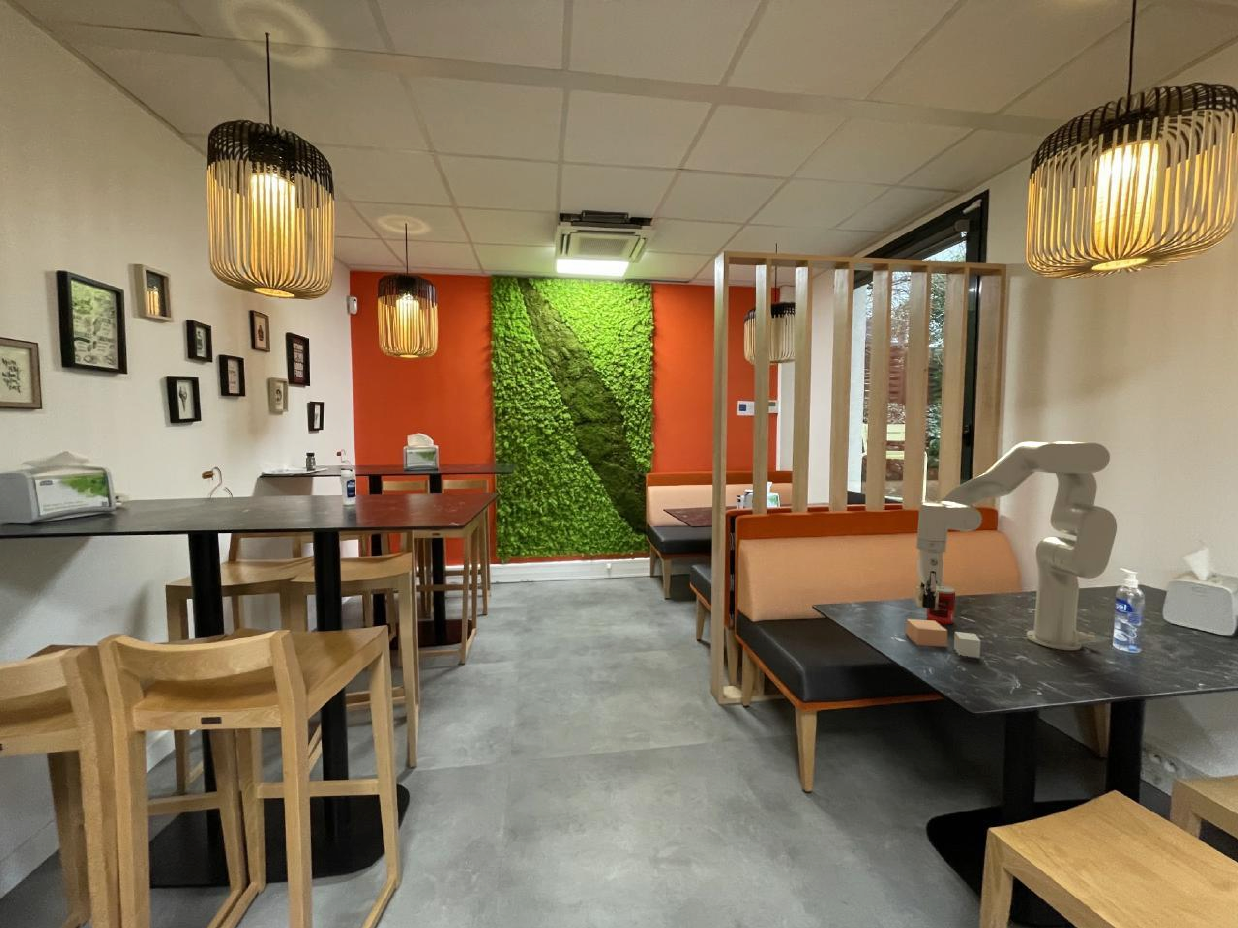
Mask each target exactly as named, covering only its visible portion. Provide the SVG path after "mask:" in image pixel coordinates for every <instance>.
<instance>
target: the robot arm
mask: <svg viewBox="0 0 1238 928" xmlns="http://www.w3.org/2000/svg"><path fill="white" fill-rule="evenodd" d="M1110 460H1111V455H1110V451H1109V450H1108V448H1107V447H1106V446H1104V445H1102V444H1101V443H1098V442H1092V441H1090V442H1089V441H1074V440H1073V441H1072V440H1069V441H1068V440H1060V441H1053V442H1049V441H1048V442H1043V441H1023V442H1019V443H1018V444H1016V445H1014V446H1013V447H1012V448H1011V449H1010V450H1008V452H1007V453H1005V454H1004V455H1003V456H1002V457H1001V458H1000V459H999V460H997V462H995V463H994V464H993V465H992V466H990V468H988V469H987V470H986V471H984V472H983V473H982V474H980V475H978V476H976V477H973V478H971V479H970V480H969V479H968V480H967V481H966V482H964V483H961V484H959V485H958V486H956V487H954V488H953V489H951V490H950V491H949V492H948V493H947V494H945V496H943V497H942V499H940V500H939V501H938V502H937V503H935V502H924V503H921V504H920V505H919V509H918V520H917V521H918V522H917V531H916V545H915V548H916V550H919V552H918V561H917V578H918V579H919V586H920V587H925V590H924V594H923V602H922V607H923V608H922V609H927V608H928V609H935V602H936V584H937V585H938V586H940V587H941V586H942V585H944V584H943V580H944V553H947V552H946V550H947V538H948V530H955V531H961V532H970V531H974V530H976V529H978V528H979V527H980V526H981V524H982V522H983V517H982V516H983V515H982V514H981V512H980V511H979V510H978V509H977V508H975V507H973V505H974V504H977V503H979V502H982V501H985V500H990V499H996V498H999V497H1000V498H1001V497H1003V496H1004V497H1005V496H1007V495H1009V494H1011V493H1013V492H1014V490H1016V489H1017V488H1019V486H1020V485H1022V484H1023V483H1024V482H1025V481H1026V480H1027V479H1028V478H1029V477H1031V476H1032V475H1034V473H1036V472H1039V473H1046V474H1055V475H1056V477H1057V480H1058V481H1057V482H1058V486H1057V492H1056V496H1055V499H1054V504H1053V507H1052V510H1051V515H1050V524H1051V526H1052V528H1053V529H1054V530H1056V531H1057V532H1059V533H1062V534H1065V535H1069V536H1075V537H1076V538H1075V540H1073V539H1070V538H1066V537H1062V536H1048V537H1045V538H1043V539H1040V541H1039V542H1038V543H1037V545H1036V547H1035V561H1036V566H1037V581H1036V583H1037V584H1036V594H1035V608H1034V620H1033V621H1034V623H1033V630H1028V631H1027V632H1026V638H1027V639H1029V641H1030V642H1034V643H1035V644H1038V645H1040V646H1044V647H1046V648H1047V647H1048V648H1051V649H1055V650H1061V651H1078V650H1080V649H1081V648H1082V642H1083V641H1084V642H1090V643H1096V641H1097V638H1096V636H1095V635H1093V634H1087V633H1086V632H1082V631H1079V630H1077V629H1076V628H1077V616H1078V603H1079V593H1080V585H1079V584H1080V583H1079V579H1078V578H1080V579H1086V580H1093V579H1095V578H1098V577H1100V576H1101V575H1102V574H1103V573H1104V572H1105V571H1106V568H1107V566H1108V565H1109V562H1110V558H1111V554H1112V550H1113V547H1114V543H1115V541H1116V540H1115V539H1116V536H1117V533H1118V523H1117V519H1116V517H1115V515H1114V514H1113V513H1112V512H1111V511H1110V510H1109V509H1107V508H1103V507H1102V506H1096V505H1095V499H1096V494H1097V488H1098V487H1097V480H1096V477H1095V475H1094V474H1095V473H1098V472H1100V471H1103V470H1104V469H1105V468H1106V467H1107V466H1108V465H1109V463H1110ZM927 587H928V590H927Z"/></svg>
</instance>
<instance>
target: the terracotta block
mask: <svg viewBox="0 0 1238 928" xmlns="http://www.w3.org/2000/svg"><path fill="white" fill-rule="evenodd" d="M905 629H906V631H905V635H907V637H908V638H909V639H910V640H911V641H912V642H914V643H915V645H916V646H929V647H942V648H946V647H947V642H948V641H947V640H948V630H947V629H946V628H944V627H943V626H942V624H938V623H937V622H936V621H933V620H928V619H918V618H917V619H915V618H907V619H906V628H905Z"/></svg>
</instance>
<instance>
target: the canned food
mask: <svg viewBox="0 0 1238 928" xmlns="http://www.w3.org/2000/svg"><path fill="white" fill-rule="evenodd" d="M936 590H937V591H938V593H939V600H938V610H935V609H927V608H926V620H933V621H936V622H937V623H938V624H940V625H951V624H953V622H954V617H955V606H956V605H955V604H956V602H955V601H956V589H955V588H953V587H951V586H948V585H944V584H942V586H941V587H940V586H938V585H937V583H936Z"/></svg>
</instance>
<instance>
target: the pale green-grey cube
mask: <svg viewBox="0 0 1238 928" xmlns="http://www.w3.org/2000/svg"><path fill="white" fill-rule="evenodd" d="M953 637H954V639H953V649H954V651H955V650H956V651H955V652H956V654H957V653H958V654H957V655H958V656H960V655H962V656H961V657H967V656H968V658H975V659H980V655H981V654H980V653H981V640H980V638H979V637H978V636H977V635H976V634H975V633H969V632H960V631H954V636H953Z"/></svg>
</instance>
